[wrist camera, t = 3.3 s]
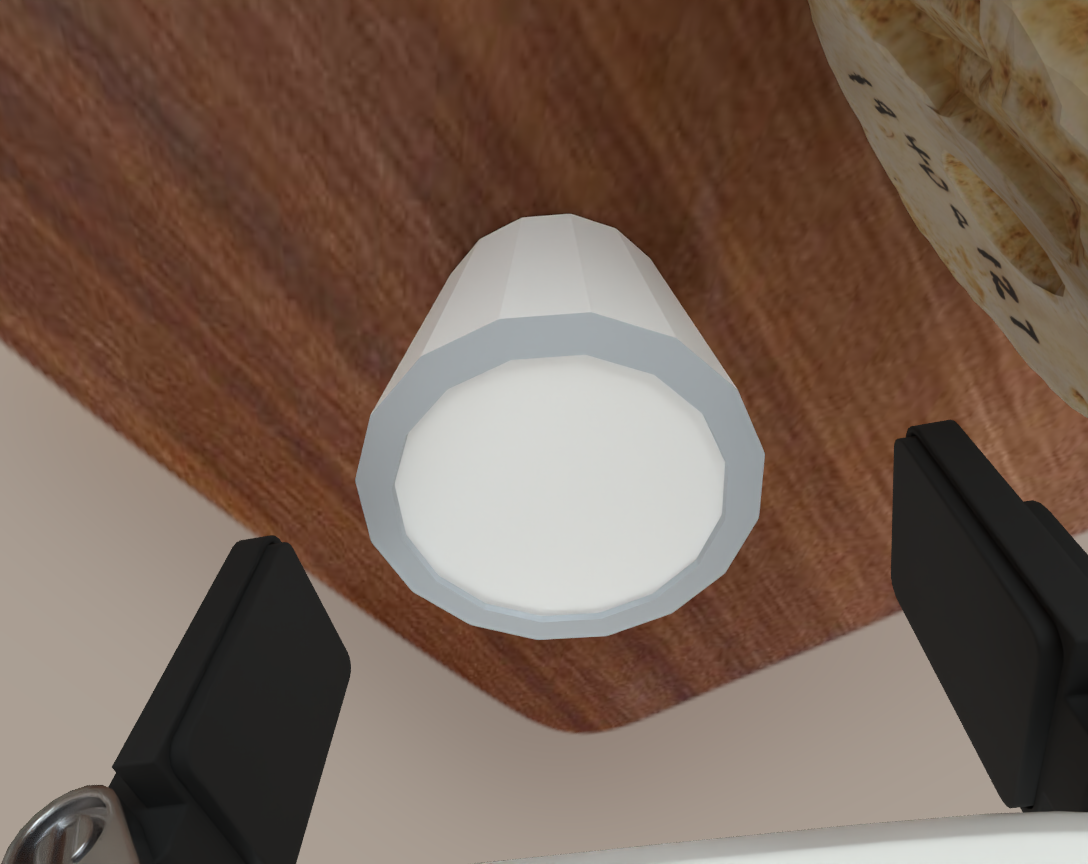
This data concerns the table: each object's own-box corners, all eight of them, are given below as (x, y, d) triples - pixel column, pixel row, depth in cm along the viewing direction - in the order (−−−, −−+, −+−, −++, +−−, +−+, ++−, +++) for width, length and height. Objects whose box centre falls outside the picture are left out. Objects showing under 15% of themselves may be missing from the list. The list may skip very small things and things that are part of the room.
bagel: (1109, 247, 18) (1633, 525, 9) (954, 339, 19) (1290, 657, 10) (925, -209, 13) (1607, -489, 5) (738, -51, 14) (1016, -47, 6)
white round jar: (467, 468, 21) (437, 674, 15) (369, 232, 17) (280, 380, 11) (715, 410, 20) (788, 605, 14) (666, 146, 16) (737, 259, 10)
